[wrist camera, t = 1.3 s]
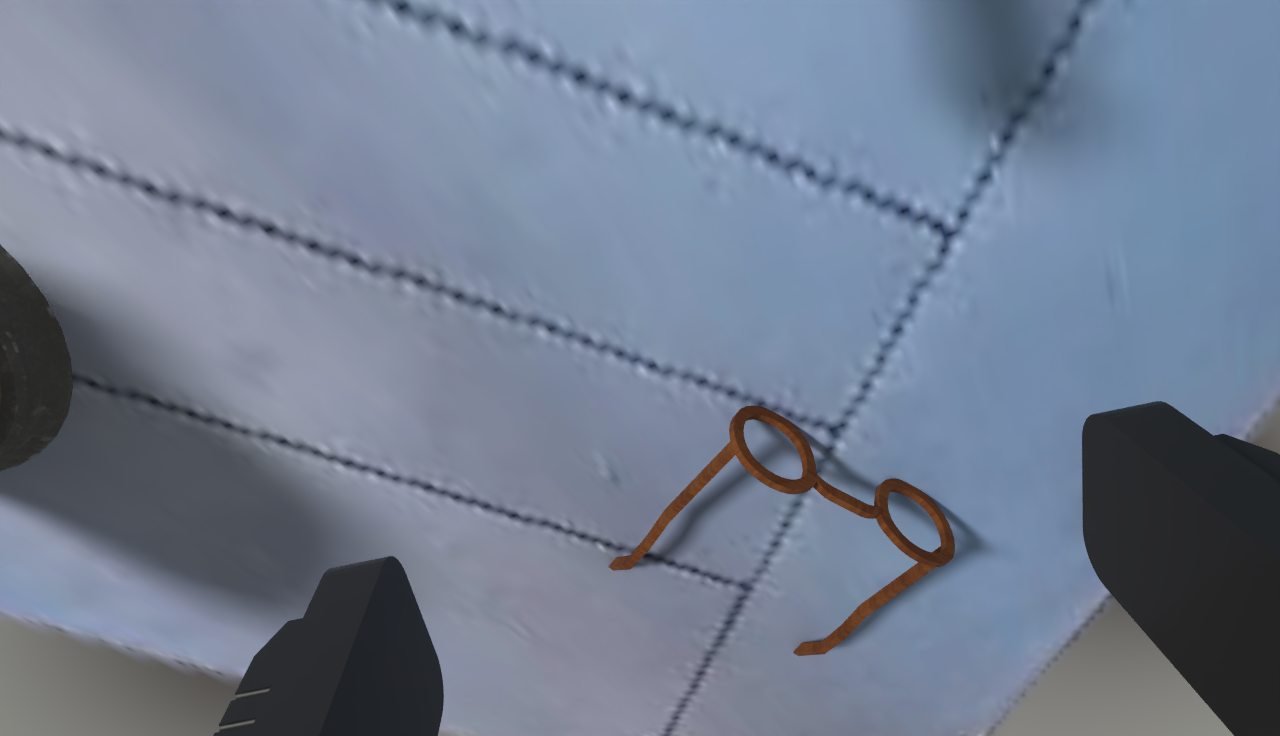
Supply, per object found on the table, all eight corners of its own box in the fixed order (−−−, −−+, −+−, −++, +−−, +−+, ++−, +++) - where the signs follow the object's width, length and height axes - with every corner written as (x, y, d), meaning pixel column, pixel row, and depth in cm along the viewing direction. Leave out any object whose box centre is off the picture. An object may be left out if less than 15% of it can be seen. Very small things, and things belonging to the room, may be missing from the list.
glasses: (944, 499, 46) (974, 565, 42) (798, 649, 52) (811, 721, 47) (735, 387, 43) (743, 446, 38) (603, 560, 48) (598, 629, 44)
